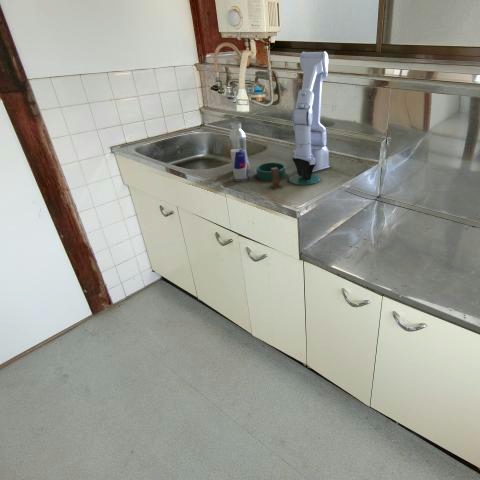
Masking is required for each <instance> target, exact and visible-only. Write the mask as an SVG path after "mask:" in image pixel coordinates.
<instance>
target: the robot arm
mask: <svg viewBox="0 0 480 480" xmlns="http://www.w3.org/2000/svg"><path fill="white" fill-rule="evenodd" d="M299 65H300V68H301V71H302V73H303V76H302V88H301V89H300V90H299V91H298V92H297V100H296V104H295V109H293V110H292V112H291V123H292V128H293V131H294V141H295V149H293V150H292V153H293V154H292V155H293V157H292V162H293V163H294V166H295V167H296V171H297V174H298V175H299V176H302V175H301V170H302V169H303V172H304V178H305V180H306V181H307V180H311V176H312V174H313V173H314V172H317V171H320V170H324V169H328V168H330V167H331V166H330V163H329V162H330V158H329V157H330V156H329V153H330V152H329V149H328V146H326V145H327V141H328V139H327V138H328V137H327V129H326V127H325V126H324V125H323V124H322V123H321V109H322V93H323V82H324V79H325V78H327V77H328V74H329V55H328V52H327V51H302V52H301V53H300V56H299Z"/></svg>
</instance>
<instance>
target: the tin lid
mask: <svg viewBox="0 0 480 480" xmlns="http://www.w3.org/2000/svg"><path fill="white" fill-rule="evenodd" d="M301 175H302V176H299V175H298V173H296V174H293V175H291V176H290V177H289V178H288V181H289V183H290V184H292V185H295V186H304V187H305V186H311V185H312V186H313V185H316V184H318V183H319V182H321V176H320V175H318V174H316V173H312V176H311V180H307V181H306V180H305V178H304V172H303V169H302V170H301Z"/></svg>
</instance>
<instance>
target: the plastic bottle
mask: <svg viewBox="0 0 480 480" xmlns="http://www.w3.org/2000/svg"><path fill="white" fill-rule="evenodd" d="M230 124H231V129H232V130H231V132H230V133H229V141H230V144H231V148H232V149H235V148H242V149H244V151H245V158H246V166H247V172H249V171H250V169H251V164H250V161H249V156H248V152H247V151H248V150H247V134H246V132H245V131H244V130H243V129H242V127H243V126H242V122H241V121H233V122H231V123H230ZM232 149H231V150H232Z"/></svg>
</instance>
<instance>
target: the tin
mask: <svg viewBox="0 0 480 480" xmlns="http://www.w3.org/2000/svg"><path fill="white" fill-rule="evenodd" d="M274 167H277V168H278V169H279V180H281V179H283V178H285V177H286V165H285V164H284V163H281V162H264V163H261V164H259V165H257V166H256V176H257V178H258V180H262V181H272V177H271V168H274Z"/></svg>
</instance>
